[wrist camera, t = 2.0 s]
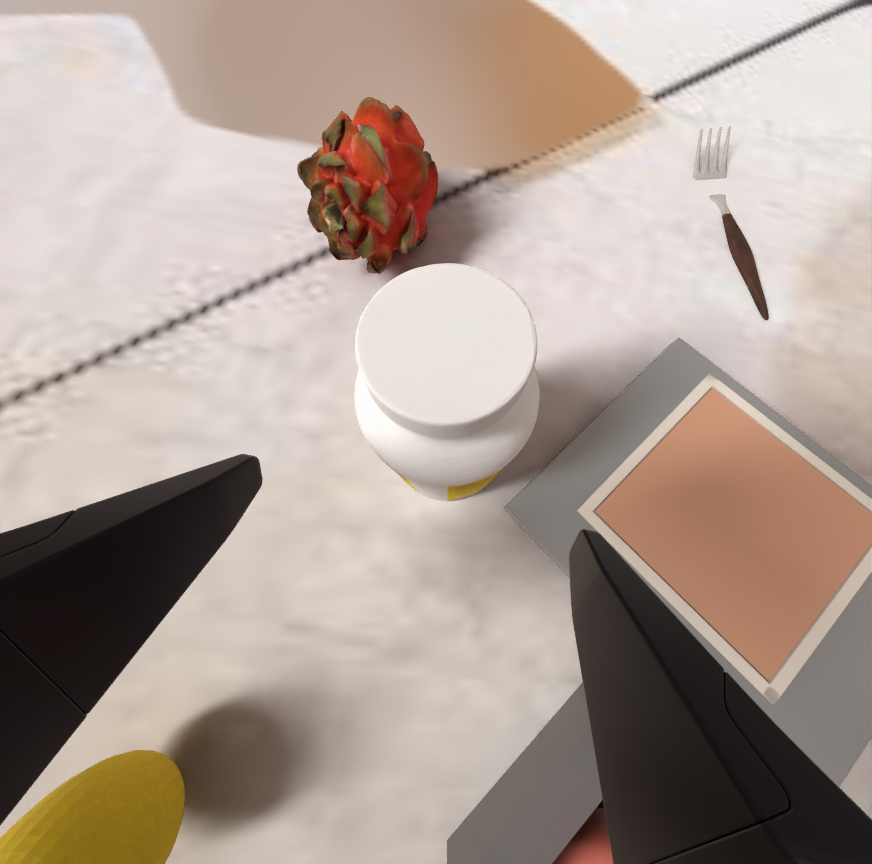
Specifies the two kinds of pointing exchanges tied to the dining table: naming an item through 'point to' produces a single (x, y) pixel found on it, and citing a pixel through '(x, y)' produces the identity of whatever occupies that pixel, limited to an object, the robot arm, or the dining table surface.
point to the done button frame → (536, 797)
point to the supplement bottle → (446, 377)
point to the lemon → (104, 816)
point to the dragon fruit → (371, 185)
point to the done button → (589, 843)
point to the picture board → (731, 540)
